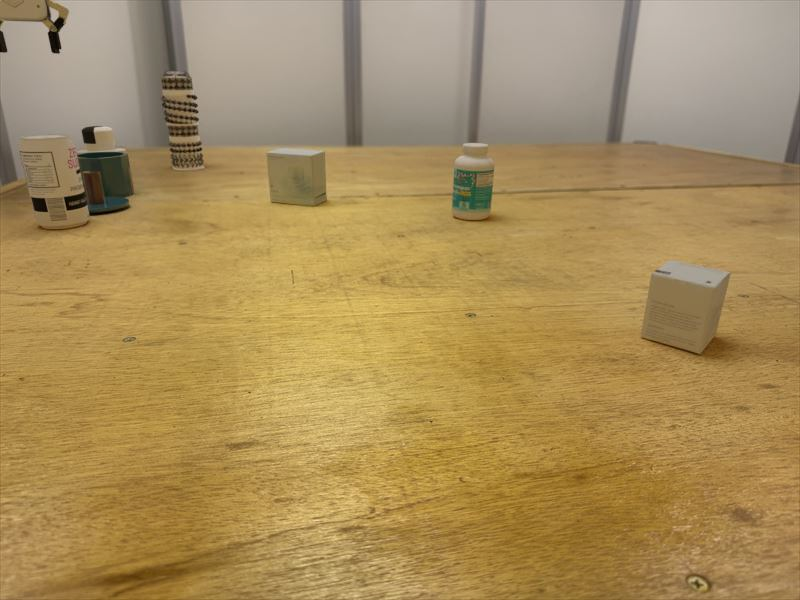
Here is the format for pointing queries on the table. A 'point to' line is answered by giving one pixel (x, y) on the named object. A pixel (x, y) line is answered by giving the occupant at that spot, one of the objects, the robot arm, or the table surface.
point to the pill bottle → (473, 183)
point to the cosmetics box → (297, 176)
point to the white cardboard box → (684, 305)
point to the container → (99, 140)
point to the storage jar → (109, 171)
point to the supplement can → (54, 180)
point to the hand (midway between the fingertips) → (29, 52)
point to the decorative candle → (182, 120)
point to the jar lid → (100, 195)
